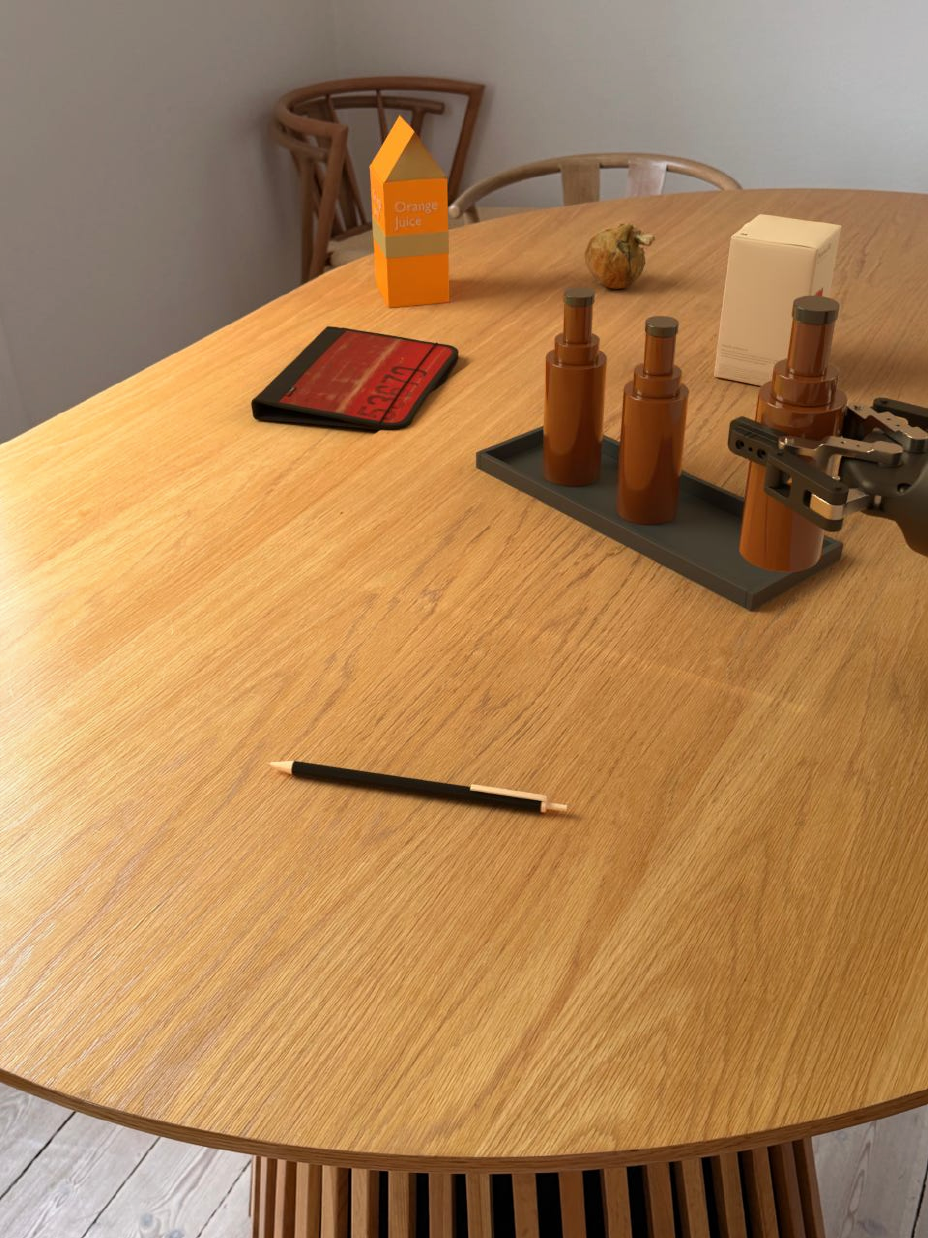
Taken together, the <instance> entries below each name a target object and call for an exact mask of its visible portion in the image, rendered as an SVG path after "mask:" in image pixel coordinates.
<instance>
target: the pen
mask: <svg viewBox="0 0 928 1238" xmlns="http://www.w3.org/2000/svg"><path fill="white" fill-rule="evenodd" d="M267 766H270V767H271V768H274V769H277V770H279V771H282V772H284V773H287V774H290V775H294V776H300V777H304V778H305V777H306V778H313V779H319V780H325V781H333V782H339V783H346V784H353V785H360V786H364V787H365V786H366V787H372V788H379V789H385V790H392V791H393V790H394V791H397V792H406V793H413V794H419V795H426V796H433V797H439V798H445V799H452V800H457V801H458V800H459V801H466V802H473V803H477V804H478V803H480V804H485V805H493V806H499V807H506V808H513V809H519V810H526V811H533V812H540V813H546V812H547V810H552V811H553V810H554V811H560V812H568V807H569V806H568V805H567V804H561V803H555V802H548V796H547V795H545V794H540V793H533V792H528V791H521V790H520V791H519V790H514V789H506V788H501V787H493V786H488V785H487V786H486V785H479V784H473V783H471V785H470V786H467V785H462V784H461V785H460V784H455V783H447V782H441V781H433V780H427V779H422V778H421V779H419V778H415V777H414V778H413V777H407V776H399V775H393V774H386V773H380V772H373V771H366V770H361V769H353V768H345V767H339V766H332V765H327V764H326V765H325V764H319V763H312V762H305V761H300V760H299V761H298V760H286V761H271V762H267Z"/></svg>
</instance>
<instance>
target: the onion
mask: <svg viewBox="0 0 928 1238" xmlns="http://www.w3.org/2000/svg"><path fill="white" fill-rule="evenodd" d="M655 241H656V238H655V236H654V235H653V234H648V233H647V234H645V233H644V232H643V230H642V229H640V228H639V227H637V226H636V225H634V223H632V224H631V223H628V222H627V223H626V222H624V223H623V222H622V223H619V226H618V227H616V228H610V229H606V230H604V231H602V232H598V233H597V234H595V235H593V236H592V237H591V238H590V239H589V241H588V243H587V246H586V248H585V250H584V254H583V255H584V256H583V257H584V262H585V265H586V267H587V269H588V270H589V272H590V273H591V275H592V276H593V277H594V279H596V281H598V282H599V284H600V285H601V286H604V287H605V288H608V289H614V290H619V289H625V288H628V287H631V286H632V285H633V284H634V283H635V282H636V281H637V280H638V279H639V278H640V277H641V275H642V273H643V272H644V268H645V265H646V256H645V251H644V248H645V247H644V246H646V247H650V246H651V245H652V244H653V243H654V242H655ZM639 245H641V246H643V247H640V246H639Z"/></svg>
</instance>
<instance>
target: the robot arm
mask: <svg viewBox="0 0 928 1238" xmlns="http://www.w3.org/2000/svg"><path fill="white" fill-rule="evenodd" d="M902 419H905V420H906V421H907V423H906V422H904V421H903V420H902ZM728 426H729V427H728V434H727V442H726V443H727V448H728V450H729V451H730V452H731V453H732V454H734V455H736V456H738V457H742V458H743V459H746V460H748V461H749V460H750V461H752V462H755V463H757V464H759V465H762V466H764V467H766V473H765V481H764V488H763V491H764V492H765V493H766V494H768V495H769V496H771V497H772V498H774V499H776V500H777V501H779V502H780V503H782V504H783V505H785V506H787V507H788V508H790V509H791V510H793V511H795V512H796V513H798V514H799V515H801V516H802V517H804V518H806V519H807V520H809V521H810V522H812V523H813V524H815V525H817V526H818V527H820V528H821V529H823V530H825V532H830V533H837V532H840V531H841V530H842V529H843V525H844V520H845V517H847V516H850V515H852V514H853V515H854V514H855V513H858V512H859V513H861V514H863V515H865V516H869V517H872V518H873V517H874V518H881V519H885V520H889V521H892V522H895V524H897V526H898V527H899V530H900V531H901V533H902V535H903V539H904V540H905V543H906V545H907V547H908V548H909V549H910V550H911V551H913V552H914V553H916V554H918V555H921V556H923V557H925V558H928V407H924V406H920V405H916V404H912V403H908V402H905V401H901V400H896V399H891V398H888V397H876V398H874V399H873V402H872V406H871V405H870V406H868V405H867V404H865V403H862V402H850V403H848V404H847V406H846V411H845V417H844V423H843V429H842V434H841V437H836V436H826V437H824V438H823V440H821V441H814V440H809V439H804V438H799V437H794V436H787V433H784V432H782V431H779V430H776V429H774V428H771V427H769V426H767V425H764V424H761V423H759V422H756V421H755V419H752V418H749V417H746V416H744V415H741V416H738V417H736V418H733V419H732V420H730V422H729V425H728ZM798 454H800V455H805V456H810V457H813V458H814V459H815V461H816V463H815V467H814V466H812V465H810V464H809V463H807V462H805V461H803V460H802V459H800V458H798V457H797V456H798ZM833 455H838V456H840V458H839V465H838V471H837V474H834V475H833V476H832V477H831V476H830V472H831V466H832V460H833ZM786 483H791V486H790V485H788V484H786Z"/></svg>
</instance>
